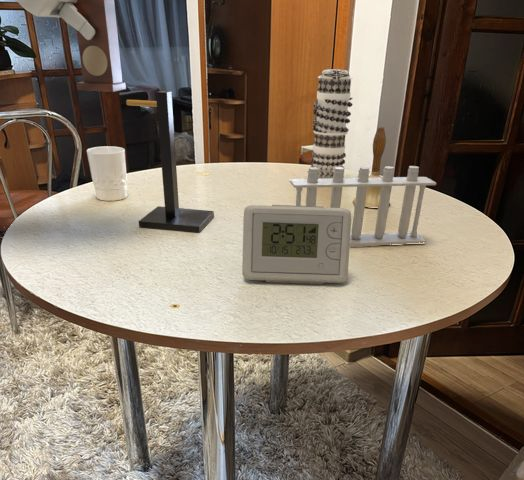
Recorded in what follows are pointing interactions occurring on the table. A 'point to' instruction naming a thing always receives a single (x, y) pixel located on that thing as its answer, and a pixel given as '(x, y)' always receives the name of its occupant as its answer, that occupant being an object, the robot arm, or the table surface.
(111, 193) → the white cup
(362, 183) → the test tube rack
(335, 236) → the digital clock
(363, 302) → the table surface
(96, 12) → the clock
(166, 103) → the stand
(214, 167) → the table surface
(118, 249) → the table surface
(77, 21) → the robot arm
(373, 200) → the hand bell
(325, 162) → the white patterned cylinder
